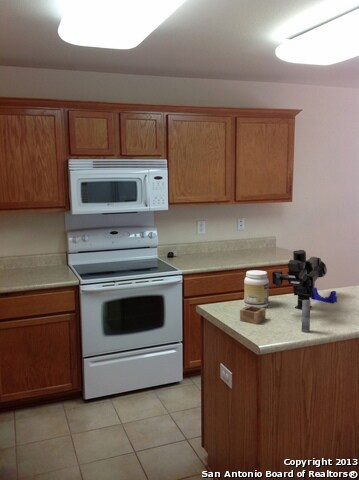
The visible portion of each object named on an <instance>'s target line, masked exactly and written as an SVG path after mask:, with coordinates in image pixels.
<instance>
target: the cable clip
mask: <svg viewBox="0 0 359 480" xmlns="http://www.w3.org/2000/svg"><path fill="white" fill-rule="evenodd" d="M313 289H314V297H311V298H310V300H314V301H319V302H324V303H329V304H332V305H333V304H335V303H337V302H338V296H337V290H332V291H330V293H329V296H328V297H327V296H325V297H324V296H322V295H320V294H319V292H318V288H317V287H315V286H314V288H313Z"/></svg>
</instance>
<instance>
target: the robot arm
mask: <svg viewBox="0 0 359 480" xmlns="http://www.w3.org/2000/svg"><path fill="white" fill-rule="evenodd" d="M292 257H293V258H292V259H290V260H289V261H288V263H287V269H288V270H287V272H286V273H287V274H283V272H282V271H280V270H274V271H273V272H272V273H271V275H272V277H271V278H272V284H273V285H275V286H276V287H279V286H280V287H281V286H282V284H283V282H284V281H288V285H293V287H292V290H293V295H294V296H297V305H296V306H294V309H298V310H299V309H300V310H302V300H310V301H311V297H314V289H313V288H314V287H315V285H316V281H317V279H319V278H324V277H325V276H326V275H327V271H328V268H327V265H326V263H324V262H323V261H322V259H321V257H315V256H312V257H310V258H309V259H307V252H306V251H305V250H304V249H297V250H293V252H292ZM312 307H313V306H312V305H310V309H311V308H312Z"/></svg>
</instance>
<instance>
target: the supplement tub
mask: <svg viewBox="0 0 359 480" xmlns="http://www.w3.org/2000/svg"><path fill="white" fill-rule="evenodd" d="M243 282H244V290H243V291H244V292H243V293H244V297H243V299H244V301H243V303H244V305H245V307H247V306H255V307H260V308H266V307H268V305H269V302H270V301H269V295H270V293H269V291H270V281H269V278H268V272H267V271H264V270H259V269H258V270H256V269H255V270H254V269H253V270H247V271H246V274H245V277H244V281H243Z"/></svg>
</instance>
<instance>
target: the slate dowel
mask: <svg viewBox="0 0 359 480" xmlns="http://www.w3.org/2000/svg"><path fill="white" fill-rule="evenodd" d="M310 306H311V299H310V300H302V309H301V332H302V333H307V334H308V333H310V332H311V331H310V330H311V308H310Z"/></svg>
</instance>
